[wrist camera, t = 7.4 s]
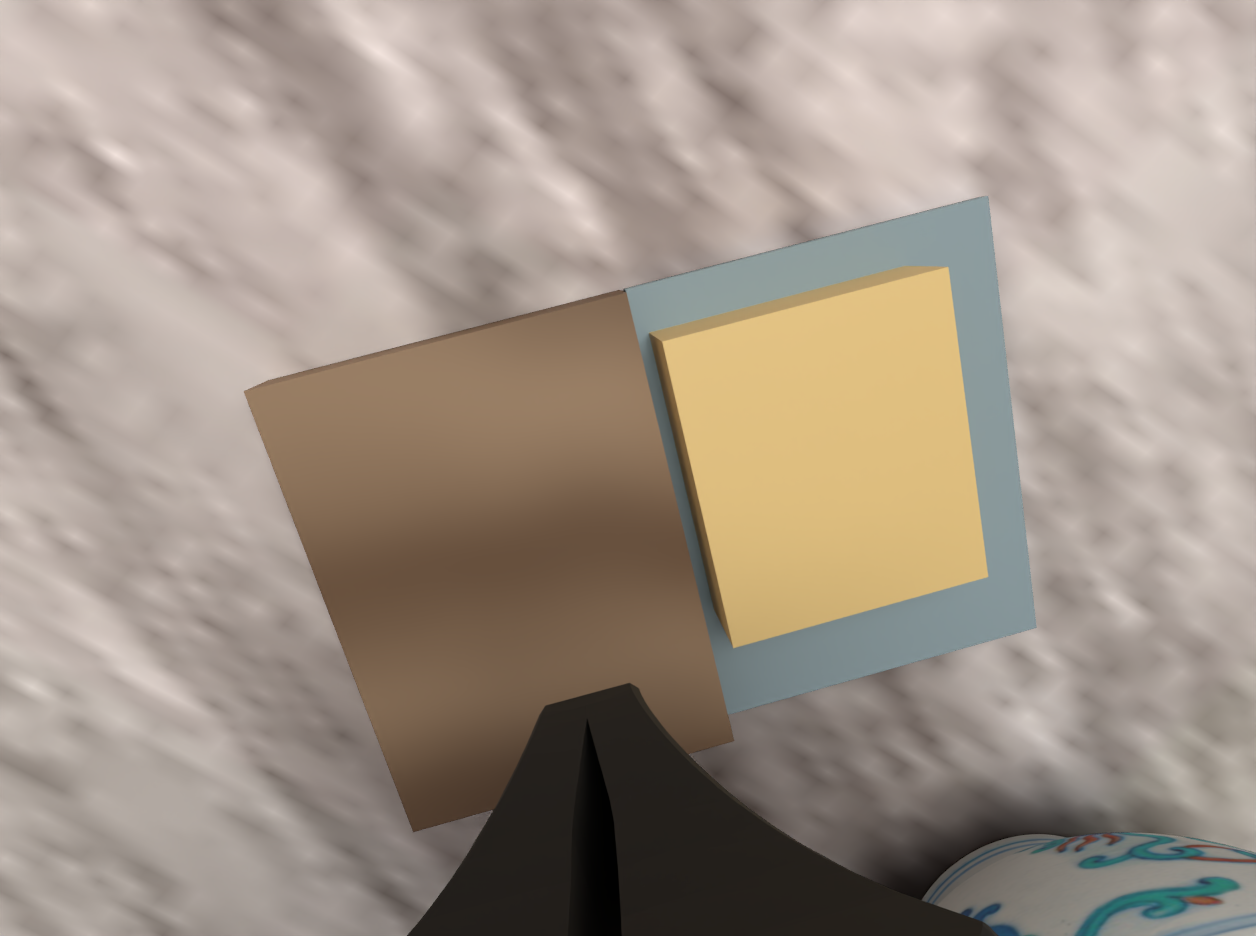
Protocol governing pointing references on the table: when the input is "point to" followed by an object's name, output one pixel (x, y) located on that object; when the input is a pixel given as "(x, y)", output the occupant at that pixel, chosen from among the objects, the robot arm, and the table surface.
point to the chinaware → (1104, 886)
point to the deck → (494, 541)
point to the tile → (825, 450)
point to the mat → (1007, 591)
